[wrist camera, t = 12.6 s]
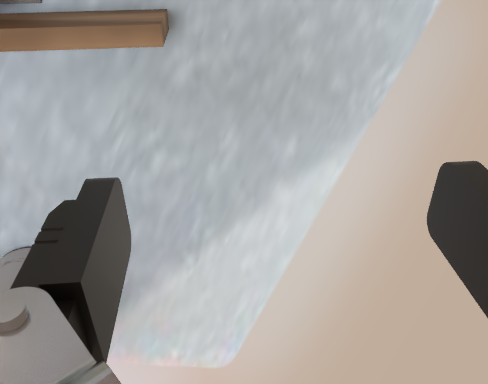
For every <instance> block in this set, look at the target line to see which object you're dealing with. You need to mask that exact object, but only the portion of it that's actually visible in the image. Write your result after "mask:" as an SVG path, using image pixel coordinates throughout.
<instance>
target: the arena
mask: <svg viewBox="0 0 488 384" xmlns="http://www.w3.org/2000/svg"><path fill="white" fill-rule="evenodd" d="M168 30H169V26H168V16H167V9H160V10H123V11H85V12H48V13H10V14H0V52H5V51H37V50H69V49H101V48H132V47H163V46H164V43H165V40H166V36H167V33H168Z"/></svg>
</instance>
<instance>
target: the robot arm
mask: <svg viewBox="0 0 488 384" xmlns="http://www.w3.org/2000/svg"><path fill="white" fill-rule="evenodd" d="M427 225H428V230H429V233H430V236H431V237H432V239H433V240H434V242H435V243H436V244H437V246H438V247H439V249H440V250H441V252H442V253H443V255H444V256H445V257H446V259H447V260H448V262H449V263H450V265H451V266H452V267H453V269H454V270H455V272H456V273H457V275H458V276H459V278H460V279H461V280H462V282H463V283H464V285H465V286H466V288H467V289H468V290H469V292H470V293H471V295H472V296H473V298H474V299H475V300H476V302H477V303H478V305H479V306H480V308H481V309H482V310H483V312H484V313H485V314H486V316H487V318H488V170H487V169H486V168H485V167H484V166H483V165H482V164H481V163H479V162H477V161H466V162H446V163H444V164H443V165H442V166H441V167H440V170H439V173H438V176H437V180H436V184H435V187H434V191H433V195H432V199H431V202H430V206H429V210H428V214H427ZM130 252H131V231H130V225H129V220H128V215H127V210H126V205H125V200H124V195H123V189H122V185H121V182H120V179H119V178H97V179H86V180H85V182H84V184H83V186H82V188H81V190H80V193H79V195H78V197H77V199H76V200H65V201H63V202H62V203H61V204H60V205H59V206H58V207H56V208H55V209H54V210H53V211H52V212H50V213H49V215H48V216H47V218H46V220H45V222H44V224H43V226H42V228H41V232H39V234H38V236H37V238H36V240H35V244H33V245H32V247H31V248H22V249H18V250H15V251H12V252H10V253H8V254H7V255H5V256H4V257H3V258H2V259H1V260H0V384H121V383H120V381H119V380H118V379H117V377H116V376H115V374H114V373H113V372H112V370H111V369H110V367H109V366H108V365H107V364H106V362H107V357H108V353H109V348H110V344H111V339H112V334H113V330H114V325H115V321H116V316H117V312H118V307H119V303H120V298H121V294H122V289H123V284H124V280H125V275H126V271H127V266H128V262H129V257H130Z"/></svg>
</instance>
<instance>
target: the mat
mask: <svg viewBox="0 0 488 384" xmlns="http://www.w3.org/2000/svg"><path fill="white" fill-rule="evenodd" d="M19 3H42V0H0V4H19Z"/></svg>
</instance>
